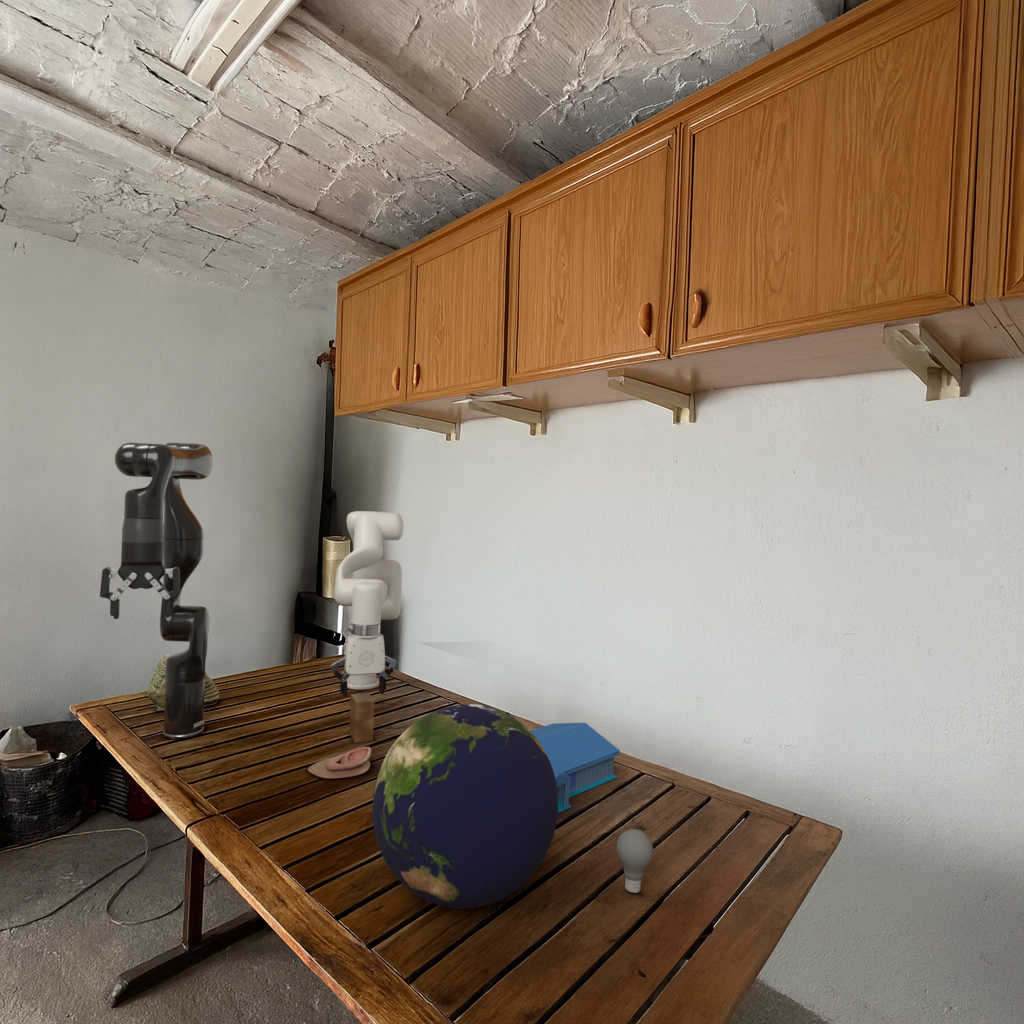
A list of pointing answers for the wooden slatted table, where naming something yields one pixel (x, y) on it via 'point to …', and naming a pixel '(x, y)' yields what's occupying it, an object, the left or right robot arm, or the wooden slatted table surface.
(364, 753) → the anatomical model
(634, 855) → the light bulb
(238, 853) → the wooden slatted table surface
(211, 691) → the fossil
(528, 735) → the globe
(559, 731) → the model building
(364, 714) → the brick
